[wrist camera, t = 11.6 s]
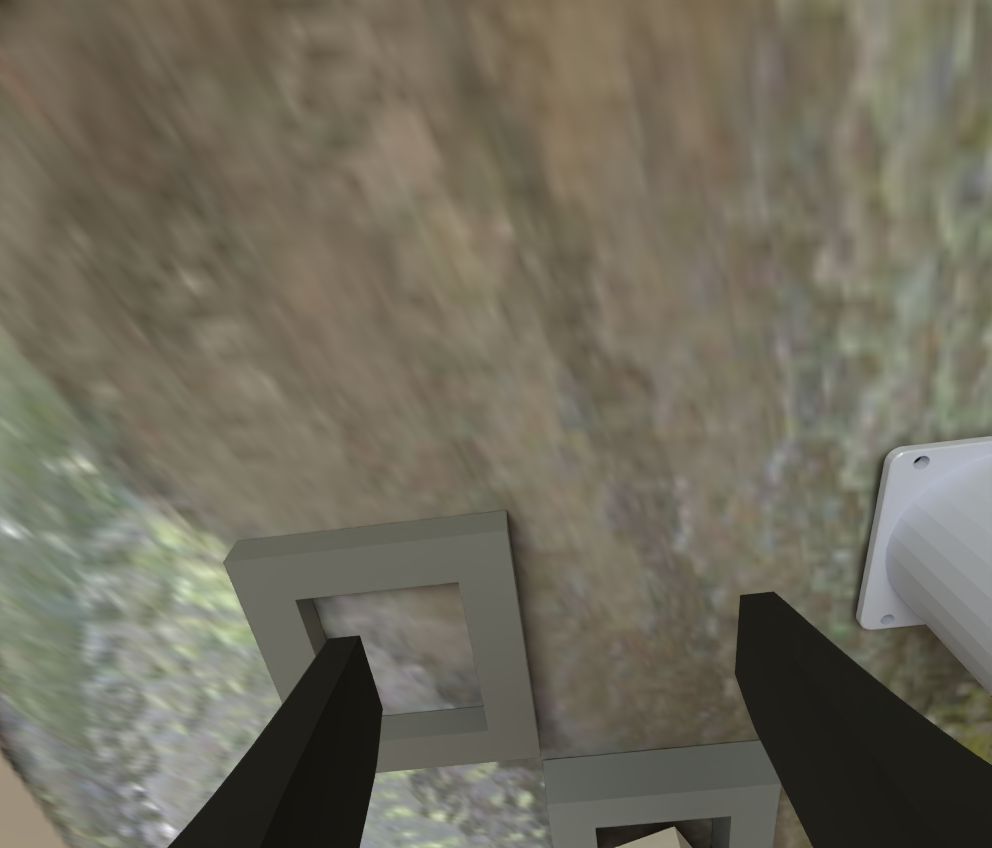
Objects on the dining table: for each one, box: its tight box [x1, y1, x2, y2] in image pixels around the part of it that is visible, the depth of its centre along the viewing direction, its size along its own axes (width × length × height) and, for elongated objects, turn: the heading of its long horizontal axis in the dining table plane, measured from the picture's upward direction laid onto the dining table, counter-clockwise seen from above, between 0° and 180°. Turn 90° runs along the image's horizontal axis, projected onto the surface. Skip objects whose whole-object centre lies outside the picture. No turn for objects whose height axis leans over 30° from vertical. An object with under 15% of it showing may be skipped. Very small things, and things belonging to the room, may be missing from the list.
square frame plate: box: [223, 510, 541, 773], centre depth 23 cm, size 10×12×1 cm
